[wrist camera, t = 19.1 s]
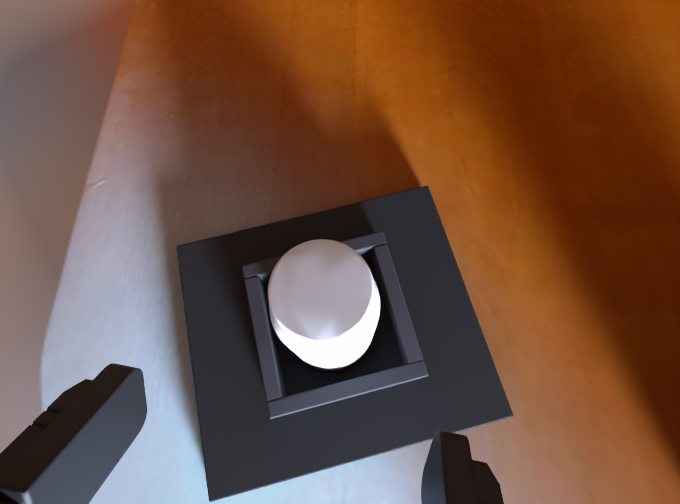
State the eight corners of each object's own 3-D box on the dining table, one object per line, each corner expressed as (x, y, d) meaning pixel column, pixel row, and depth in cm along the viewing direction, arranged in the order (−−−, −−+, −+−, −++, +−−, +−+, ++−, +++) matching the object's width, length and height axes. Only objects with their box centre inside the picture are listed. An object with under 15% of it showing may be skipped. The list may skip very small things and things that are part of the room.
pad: (215, 497, 21) (194, 513, 18) (182, 251, 26) (162, 233, 23) (507, 415, 22) (530, 418, 19) (425, 192, 27) (434, 168, 24)
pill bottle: (390, 322, 23) (412, 282, 15) (335, 389, 22) (327, 385, 14) (326, 269, 24) (315, 206, 16) (271, 331, 23) (229, 296, 15)
